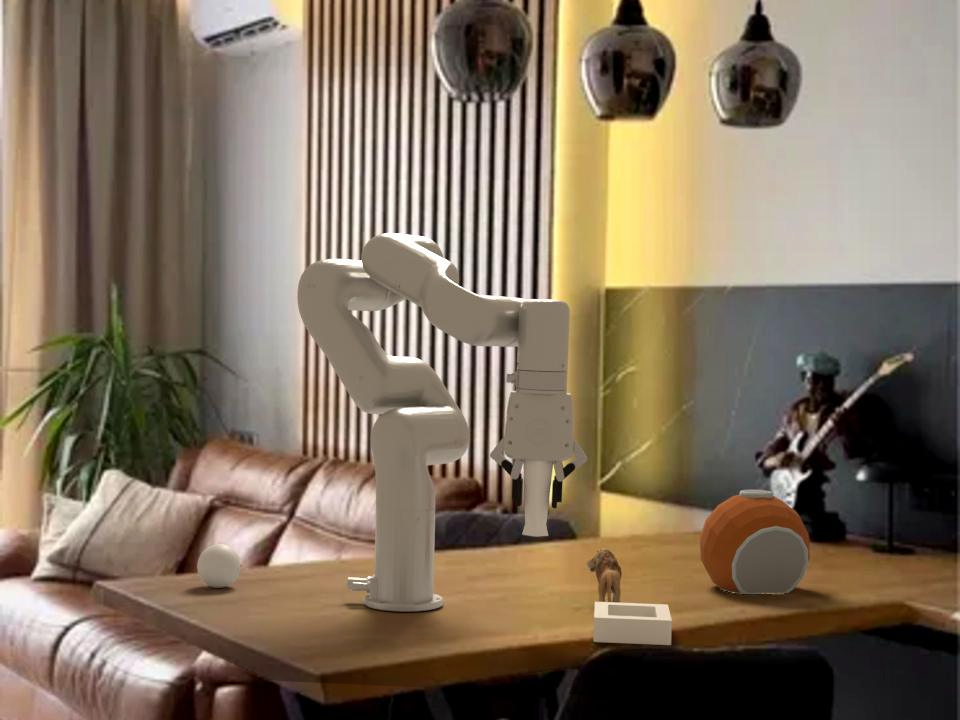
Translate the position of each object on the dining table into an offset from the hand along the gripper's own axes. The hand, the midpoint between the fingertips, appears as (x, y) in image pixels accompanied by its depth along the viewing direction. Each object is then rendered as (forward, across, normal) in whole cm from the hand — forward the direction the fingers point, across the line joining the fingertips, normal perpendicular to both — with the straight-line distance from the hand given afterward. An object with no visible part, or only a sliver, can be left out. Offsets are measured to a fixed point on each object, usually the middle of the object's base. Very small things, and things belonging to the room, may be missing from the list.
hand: (536, 505), depth 206 cm
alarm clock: (+19, +37, +42) cm, 58 cm away
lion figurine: (+19, +11, +18) cm, 28 cm away
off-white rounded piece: (+20, -54, +24) cm, 63 cm away
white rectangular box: (+18, +15, 0) cm, 24 cm away
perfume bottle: (+5, 0, 0) cm, 5 cm away
